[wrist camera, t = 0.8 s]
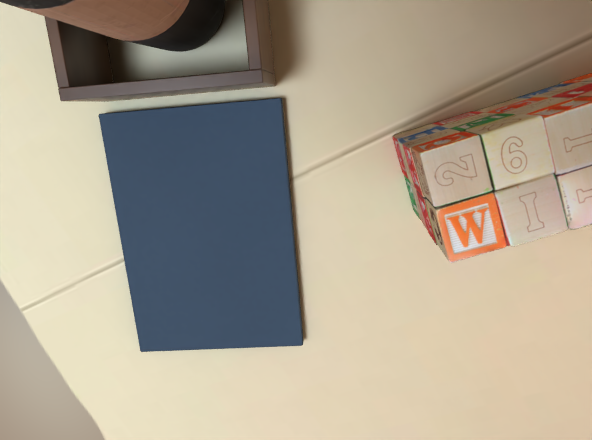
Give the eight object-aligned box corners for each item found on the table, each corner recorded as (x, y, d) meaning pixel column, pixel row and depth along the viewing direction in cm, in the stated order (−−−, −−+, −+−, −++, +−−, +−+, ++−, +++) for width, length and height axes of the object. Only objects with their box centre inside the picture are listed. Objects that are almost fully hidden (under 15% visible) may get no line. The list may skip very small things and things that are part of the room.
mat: (104, 113, 37) (98, 114, 36) (282, 98, 36) (280, 97, 35) (144, 346, 42) (140, 352, 41) (303, 340, 40) (302, 345, 39)
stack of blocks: (693, 37, 33) (901, 0, 21) (705, 126, 34) (908, 138, 22) (389, 136, 36) (418, 152, 24) (412, 213, 37) (449, 265, 25)
